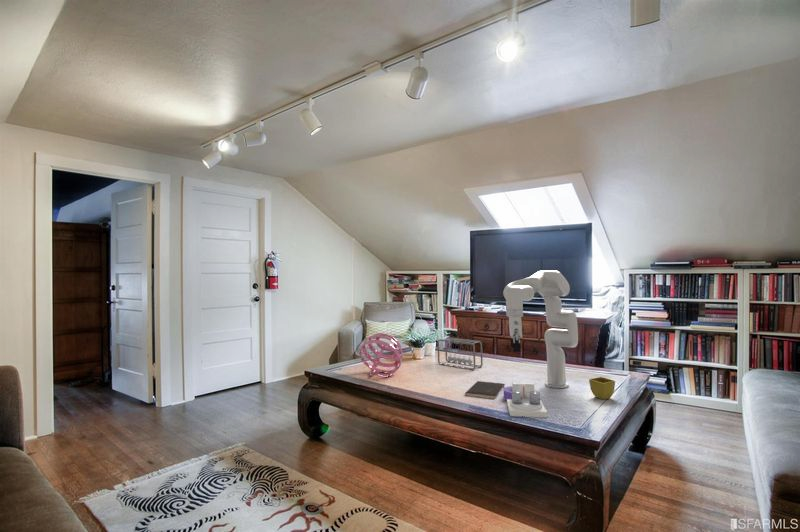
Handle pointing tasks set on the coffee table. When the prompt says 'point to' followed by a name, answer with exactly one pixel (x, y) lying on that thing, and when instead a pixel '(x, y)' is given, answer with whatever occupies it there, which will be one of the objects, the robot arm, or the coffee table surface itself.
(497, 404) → the coffee table surface
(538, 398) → the cylinder
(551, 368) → the robot arm
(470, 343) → the newton's cradle
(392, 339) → the pink openwork sphere sculpture
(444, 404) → the coffee table surface
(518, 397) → the cylinder
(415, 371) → the coffee table surface
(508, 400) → the scale
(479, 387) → the hardcover book
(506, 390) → the tape roll
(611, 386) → the flower pot
